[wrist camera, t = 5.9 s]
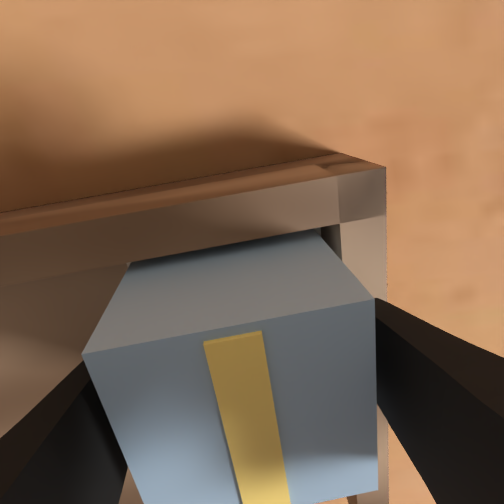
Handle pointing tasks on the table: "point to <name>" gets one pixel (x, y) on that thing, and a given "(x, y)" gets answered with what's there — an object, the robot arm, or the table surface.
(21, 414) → the tray
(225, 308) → the cube
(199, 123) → the table surface
